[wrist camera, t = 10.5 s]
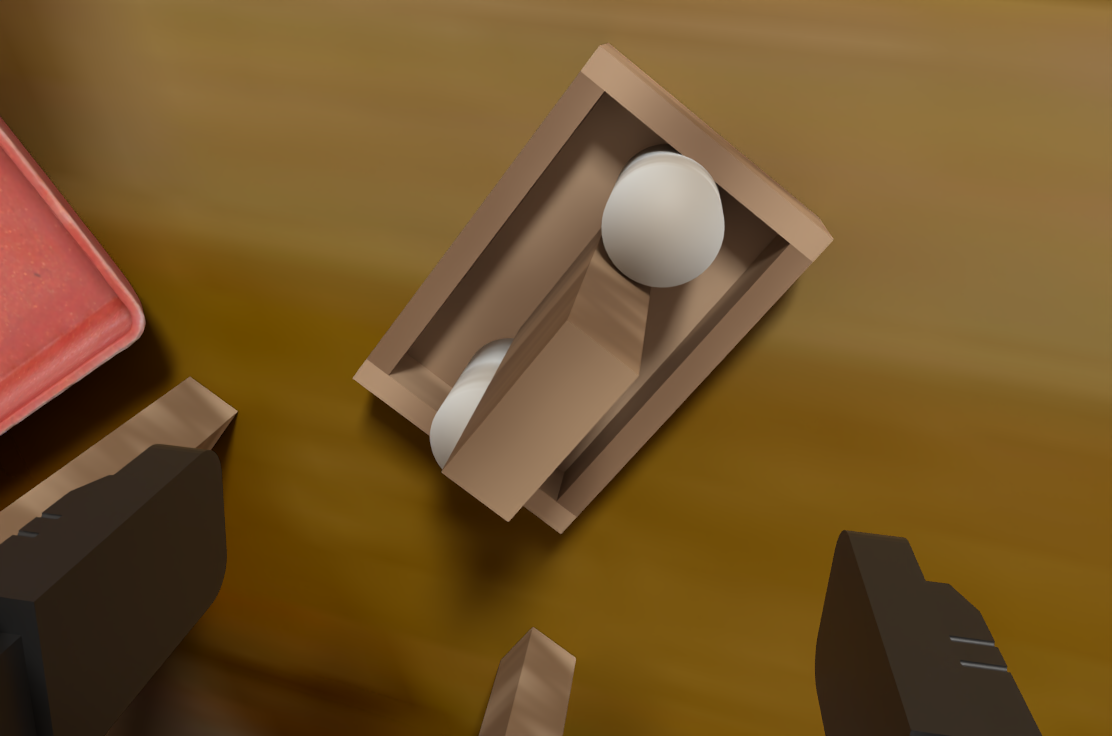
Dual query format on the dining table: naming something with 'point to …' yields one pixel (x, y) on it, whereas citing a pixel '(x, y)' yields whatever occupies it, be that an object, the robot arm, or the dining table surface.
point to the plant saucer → (52, 291)
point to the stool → (198, 422)
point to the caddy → (589, 295)
